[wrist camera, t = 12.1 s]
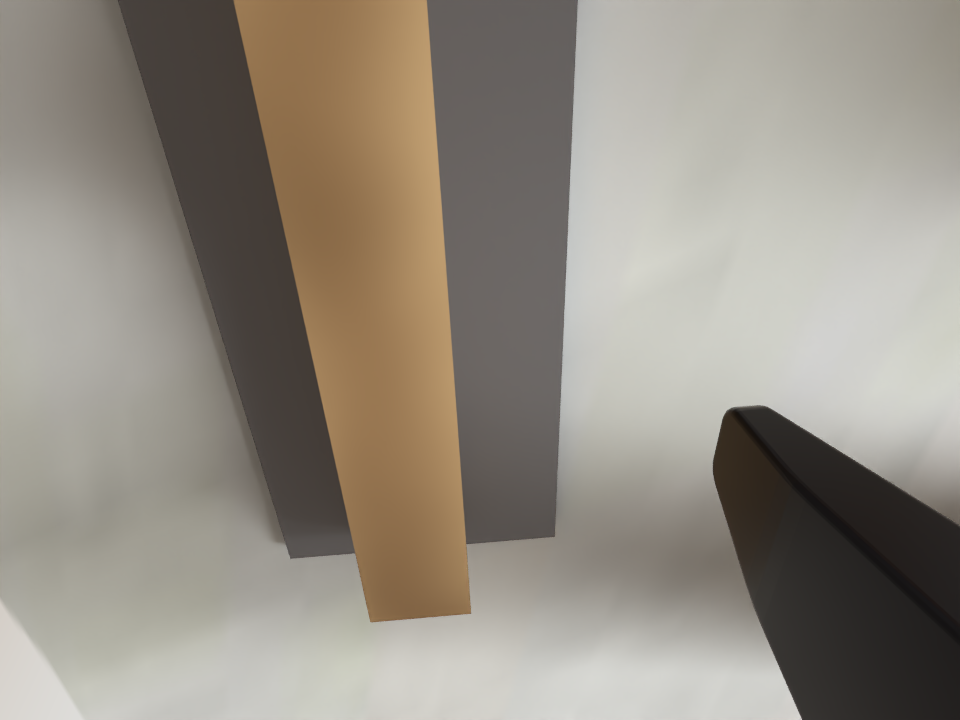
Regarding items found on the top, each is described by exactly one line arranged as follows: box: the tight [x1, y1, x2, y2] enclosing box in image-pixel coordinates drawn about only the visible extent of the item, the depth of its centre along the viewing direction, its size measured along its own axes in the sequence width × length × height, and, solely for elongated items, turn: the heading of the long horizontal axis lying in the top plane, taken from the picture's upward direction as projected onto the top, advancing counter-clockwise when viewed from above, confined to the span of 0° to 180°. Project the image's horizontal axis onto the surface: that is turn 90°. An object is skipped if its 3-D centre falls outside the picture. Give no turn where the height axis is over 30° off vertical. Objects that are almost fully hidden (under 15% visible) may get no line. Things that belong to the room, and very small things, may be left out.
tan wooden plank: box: [234, 0, 471, 622], centre depth 12 cm, size 6×22×3 cm, turn 2°
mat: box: [118, 0, 578, 559], centre depth 14 cm, size 8×24×1 cm, turn 2°
